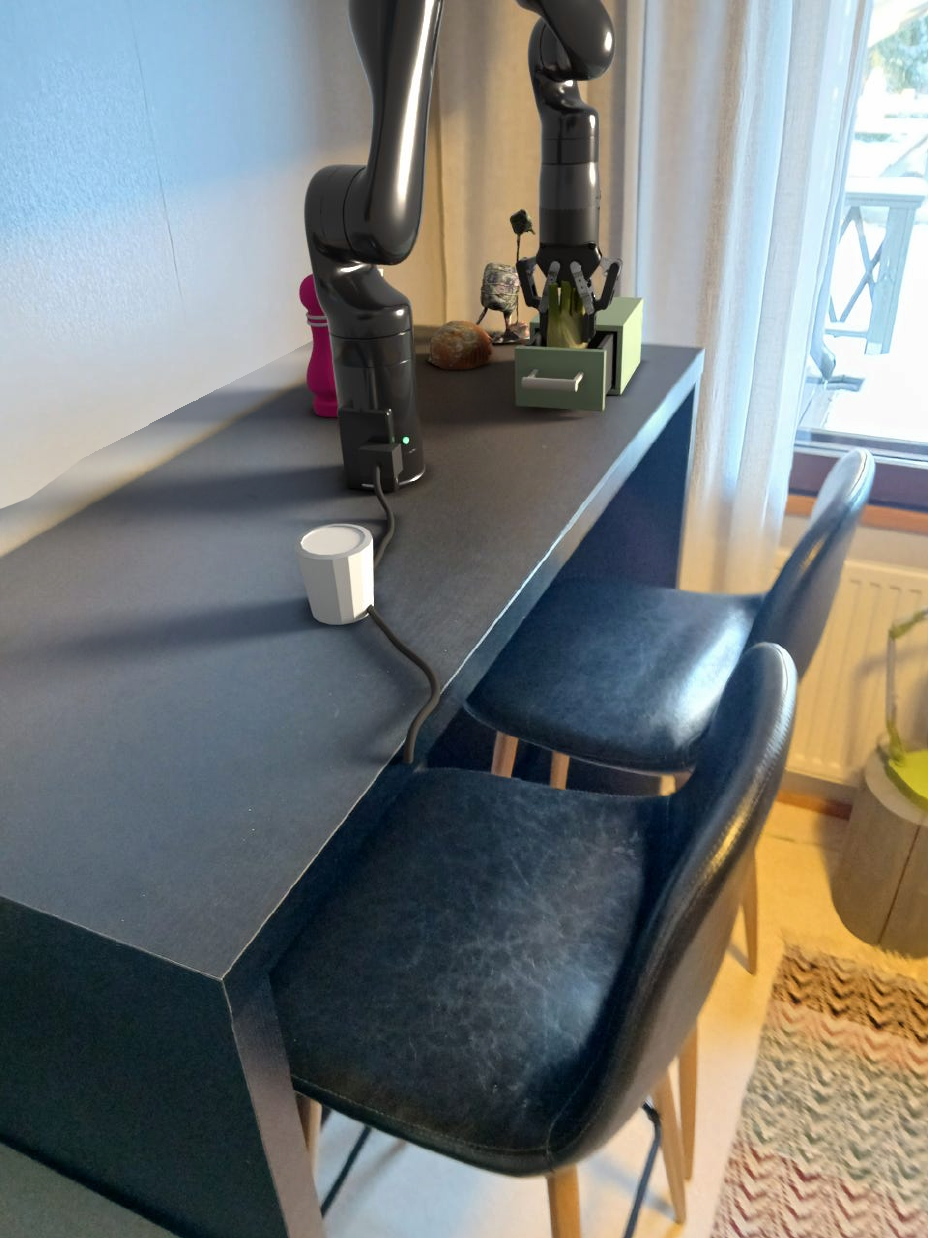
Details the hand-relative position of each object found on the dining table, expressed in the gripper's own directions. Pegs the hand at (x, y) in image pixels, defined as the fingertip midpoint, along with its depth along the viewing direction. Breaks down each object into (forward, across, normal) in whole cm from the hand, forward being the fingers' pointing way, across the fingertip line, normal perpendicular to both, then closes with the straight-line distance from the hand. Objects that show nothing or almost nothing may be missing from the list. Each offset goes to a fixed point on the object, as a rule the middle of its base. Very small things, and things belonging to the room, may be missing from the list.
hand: (567, 339), depth 124 cm
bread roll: (+9, -21, +16) cm, 28 cm away
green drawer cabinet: (+9, 0, +12) cm, 15 cm away
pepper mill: (+9, -31, -9) cm, 33 cm away
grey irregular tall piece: (+9, -17, +29) cm, 35 cm away
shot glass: (+9, -7, -58) cm, 59 cm away
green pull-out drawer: (+8, 0, -1) cm, 8 cm away
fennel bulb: (+4, 0, 0) cm, 4 cm away
